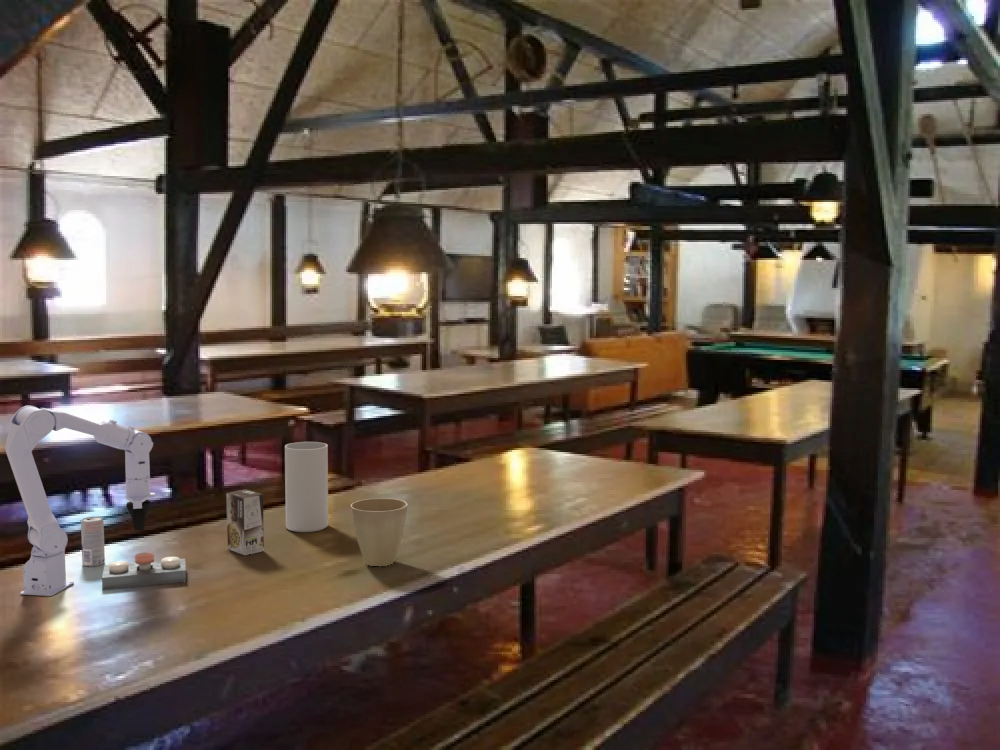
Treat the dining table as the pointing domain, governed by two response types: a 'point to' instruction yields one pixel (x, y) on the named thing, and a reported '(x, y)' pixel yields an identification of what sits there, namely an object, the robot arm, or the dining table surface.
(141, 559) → the middle cap
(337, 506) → the dining table surface
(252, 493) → the coffee box
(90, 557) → the energy drink
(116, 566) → the near cap
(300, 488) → the cylinder vase
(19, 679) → the dining table surface
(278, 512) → the dining table surface
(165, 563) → the far cap
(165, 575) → the mount
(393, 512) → the plant pot
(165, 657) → the dining table surface
